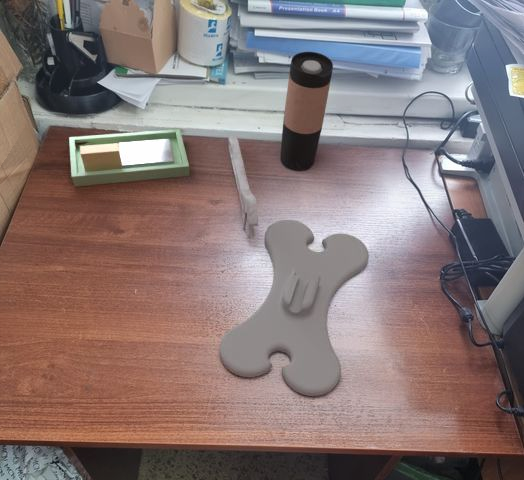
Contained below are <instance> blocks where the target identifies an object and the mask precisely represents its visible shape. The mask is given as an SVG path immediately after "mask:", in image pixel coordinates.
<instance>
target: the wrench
mask: <svg viewBox="0 0 524 480" xmlns="http://www.w3.org/2000/svg"><path fill="white" fill-rule="evenodd" d="M228 152H229V157H230V161H231V165H232V169H233V175H234V179H235V182H236V188H237V192H238V197H239V202H240V208H241V217H242V229H243V230H245V232H246V235H247V237H248V238H249V239H253V238H254V237H255V235H256V234H255V233H256V232H255V227H258V226H259V210H258V203H257V199H256V196H254V195H253V193H252V191H251V189H250V184H249V181H248V177H247V173H246V172H247V171H246V168H245V164H244V159H243V155H242V152H241V147H240V143H239V139H238V136H229V137H228Z"/></svg>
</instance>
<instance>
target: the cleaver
mask: <svg viewBox="0 0 524 480" xmlns="http://www.w3.org/2000/svg"><path fill="white" fill-rule="evenodd" d="M119 148H120V150H119ZM80 153H81V158H82V161H83V165H84V169H85V172H93V171H105V170H116V169H127V168H138V167H149V166H161V165H172V164H174V159H173V154H172V150H171V145H170V141H169V139H161V140H149V141H136V142H124V143H119V145H118V143H113V144H101V145H88V146H80ZM120 155H121V156H120Z"/></svg>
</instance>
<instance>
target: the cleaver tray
mask: <svg viewBox="0 0 524 480" xmlns="http://www.w3.org/2000/svg"><path fill="white" fill-rule="evenodd" d="M161 139H169V141H170V145H171V150H172V154H173V159H174V164H172V165H161V166H149V167H138V168H127V169H116V170H105V171H93V172H85V169H84V165H83V161H82V158H81V153H80V146H88V145H101V144H113V143H118V145H119V143H124V142H136V141H149V140H161ZM68 142H69V159H70V175H71V176H70V177H71V180H72V184H73V187H86V186H95V185H107V184H119V183H127V182H138V181H149V180H161V179H170V178H183V177H190V176H191V175H190V164H189V160H188V157H187V156H188V155H187V152H186V148H185V147H186V146H185V145H184V140H183V136H182V132H181V129H180V128H173V129H158V130H148V131H134V132H121V133H108V134H106V133H105V134H96V135H95V134H94V135H93V134H92V135H80V136H70V137H68ZM79 143H80V144H79ZM81 143H82V144H81ZM76 144H79V145H76ZM119 150H120V148H119ZM120 156H121V155H120Z"/></svg>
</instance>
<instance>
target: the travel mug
mask: <svg viewBox="0 0 524 480" xmlns="http://www.w3.org/2000/svg"><path fill="white" fill-rule="evenodd" d="M333 69H334V64H333V61H332V60H331V59H330V58H329V57H328V56H327V55H325V54H322V53H319V52H315V51H301V52H298V53H296V54H295V55H293V56H292V58H291V60H290V66H289V75H288V83H287V88H286V89H287V90H286V97H285V105H284V111H283V112H284V113H283V119H282V120H283V121H282V133H281V144H280V157H279V159H280V162H281V163H282V165H283V166H284V167H285V168H287V169H289V170H290V171H296V172H302V171H303V172H304V171H307V170H309V169H311V168H312V167H313V166H314V163H315V159H316V156H317V151H318V147H319V142H320V138H321V133H322V129H323V125H324V121H325V120H324V118H325V115H326V110H327V109H326V108H327V103H328V97H329V91H330V88H331V87H330V86H331V82H332V81H331V80H332V75H333Z"/></svg>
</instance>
